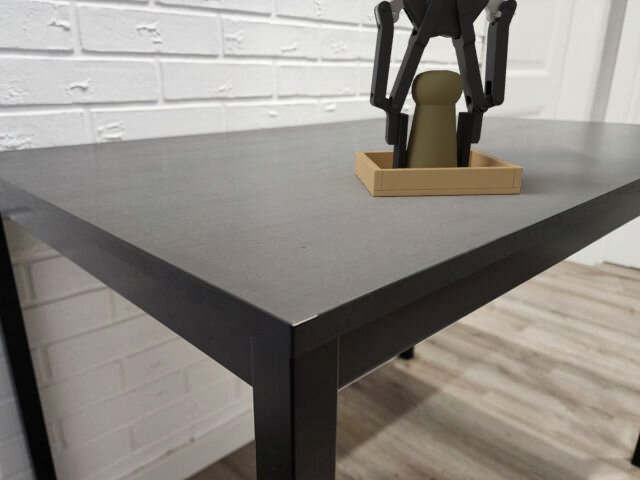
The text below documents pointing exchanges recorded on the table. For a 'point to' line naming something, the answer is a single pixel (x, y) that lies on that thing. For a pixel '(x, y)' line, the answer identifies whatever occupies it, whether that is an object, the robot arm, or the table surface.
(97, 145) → the table surface
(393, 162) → the robot arm
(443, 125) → the olive pawn
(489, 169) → the tray
